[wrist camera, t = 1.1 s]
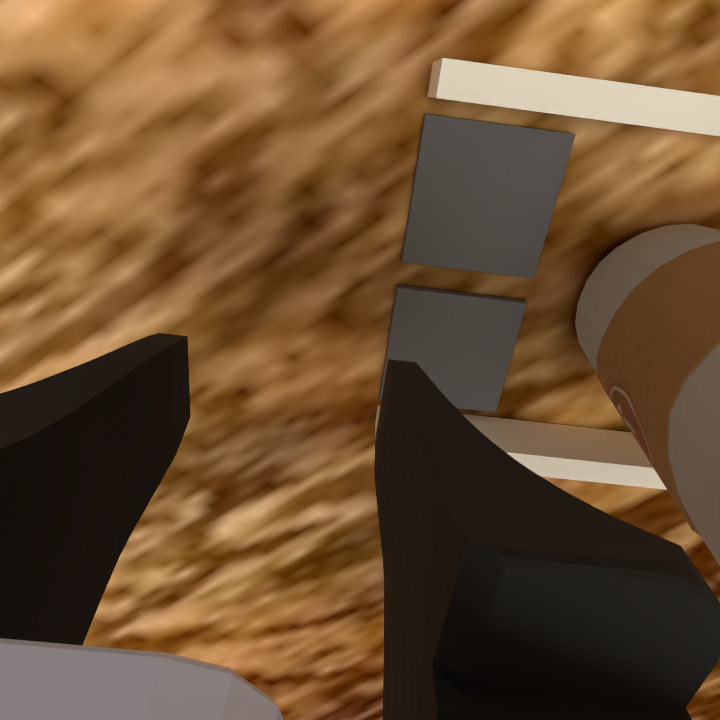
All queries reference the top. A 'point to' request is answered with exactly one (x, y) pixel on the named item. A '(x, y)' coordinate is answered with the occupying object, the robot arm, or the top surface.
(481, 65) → the lane box
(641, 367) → the coffee cup
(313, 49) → the top surface
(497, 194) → the trap pits
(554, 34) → the top surface
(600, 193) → the top surface
